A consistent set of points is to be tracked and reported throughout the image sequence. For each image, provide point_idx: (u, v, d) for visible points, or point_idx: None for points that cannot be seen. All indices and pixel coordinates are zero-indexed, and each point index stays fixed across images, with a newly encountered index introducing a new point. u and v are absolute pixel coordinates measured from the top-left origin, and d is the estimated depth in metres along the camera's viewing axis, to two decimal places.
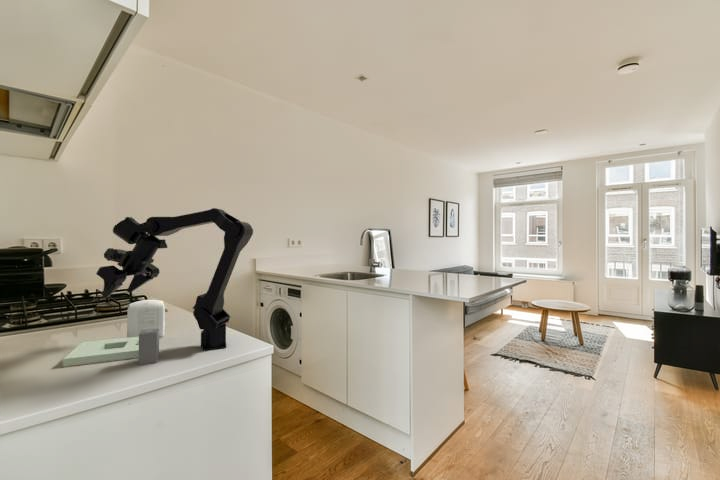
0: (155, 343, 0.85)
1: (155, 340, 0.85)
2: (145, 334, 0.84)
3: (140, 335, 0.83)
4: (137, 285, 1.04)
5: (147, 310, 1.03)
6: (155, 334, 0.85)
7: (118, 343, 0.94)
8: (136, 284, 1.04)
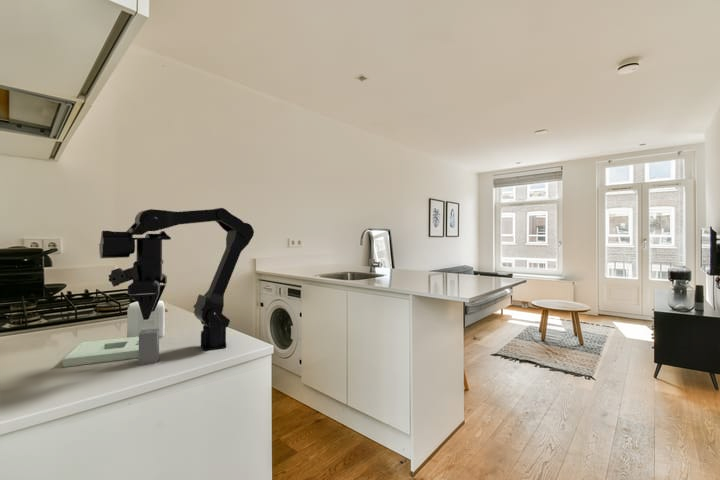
0: (155, 343, 0.85)
1: (155, 340, 0.85)
2: (145, 334, 0.84)
3: (140, 335, 0.83)
4: (157, 298, 0.91)
5: None
6: (155, 334, 0.85)
7: (118, 343, 0.94)
8: None
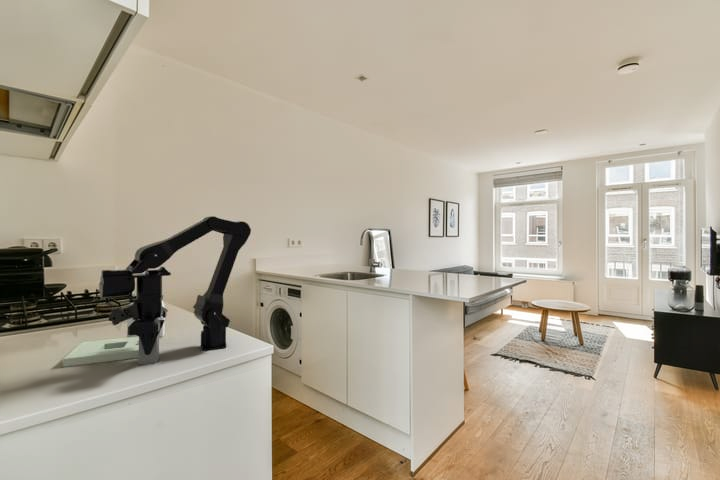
0: (155, 343, 0.85)
1: None
2: None
3: None
4: None
5: None
6: None
7: (118, 343, 0.94)
8: None
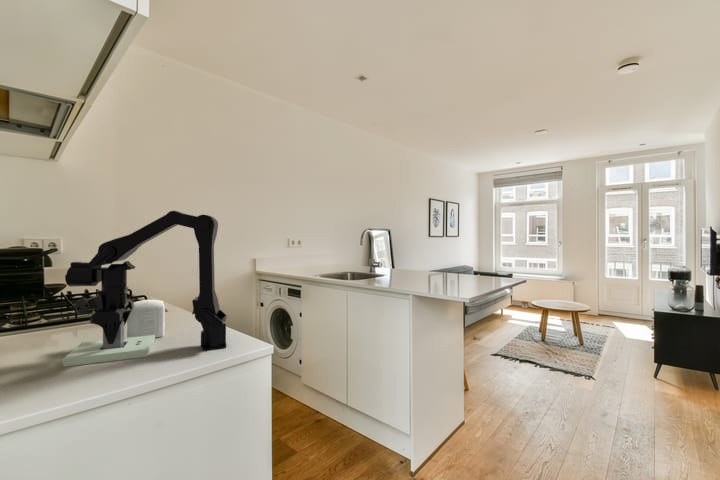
0: (119, 334, 0.91)
1: (119, 332, 0.91)
2: None
3: None
4: None
5: (147, 310, 1.03)
6: None
7: None
8: None
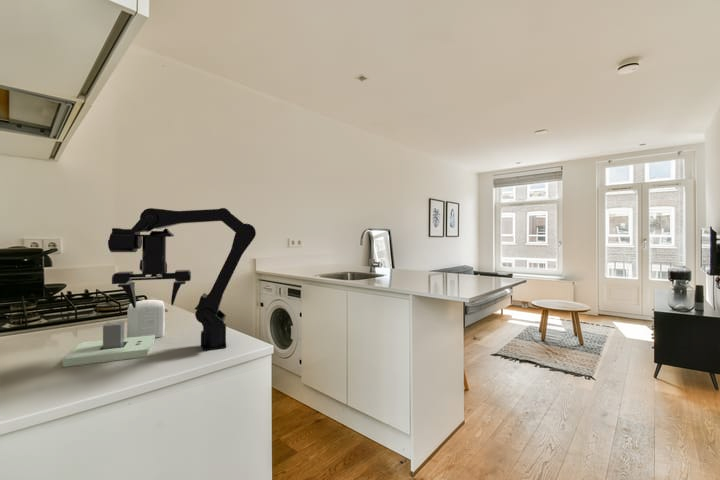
0: (119, 334, 0.91)
1: (119, 332, 0.91)
2: (109, 326, 0.90)
3: (104, 327, 0.89)
4: (172, 294, 0.94)
5: (147, 310, 1.03)
6: (119, 326, 0.90)
7: None
8: (172, 293, 0.94)
